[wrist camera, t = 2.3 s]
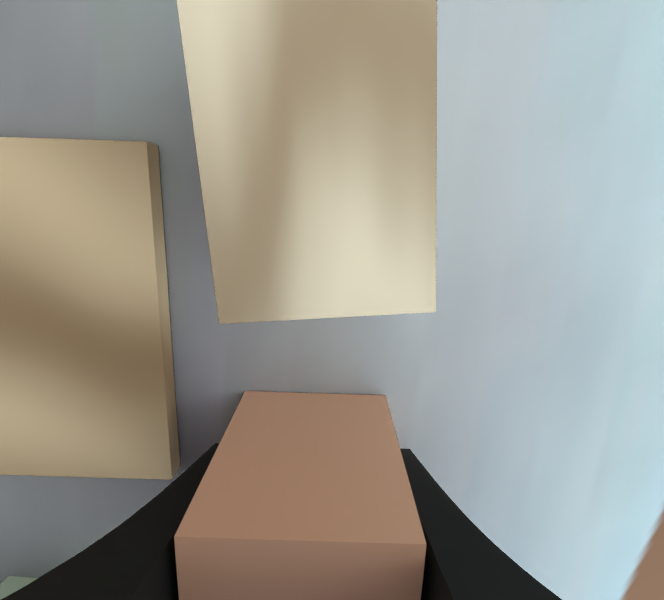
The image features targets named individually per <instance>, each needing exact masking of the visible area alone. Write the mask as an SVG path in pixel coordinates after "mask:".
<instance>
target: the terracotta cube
mask: <svg viewBox="0 0 664 600" xmlns="http://www.w3.org/2000/svg"><path fill="white" fill-rule="evenodd" d="M174 543H175V556H176V569H177V582H178V595H179V600H421V592H422V583H423V573H424V564H425V554H426V545H427V544H426V540H425V537H424V533H423V530H422V526H421V522H420V519H419V515H418V512H417V508H416V504H415V501H414V497H413V493H412V490H411V486H410V483H409V479H408V475H407V472H406V468H405V465H404V461H403V457H402V454H401V450H400V447H399V443H398V439H397V436H396V432H395V428H394V425H393V421H392V418H391V414H390V410H389V407H388V403H387V400H386V396H385V395H360V394H328V393H295V392H262V391H245V392H244V394H243V396H242V398H241V400H240V403H239V405H238V407H237V409H236V411H235V413H234V415H233V417H232V419H231V421H230V423H229V425H228V427H227V429H226V431H225V433H224V435H223V437H222V439H221V442H220V444H219V446H218V448H217V450H216V452H215V454H214V456H213V458H212V460H211V462H210V464H209V466H208V468H207V470H206V472H205V474H204V476H203V478H202V481H201V483H200V485H199V487H198V489H197V491H196V493H195V495H194V497H193V499H192V501H191V503H190V505H189V507H188V509H187V511H186V513H185V515H184V517H183V520H182V522H181V524H180V526H179V528H178V530H177V532H176V534H175V536H174Z"/></svg>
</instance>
